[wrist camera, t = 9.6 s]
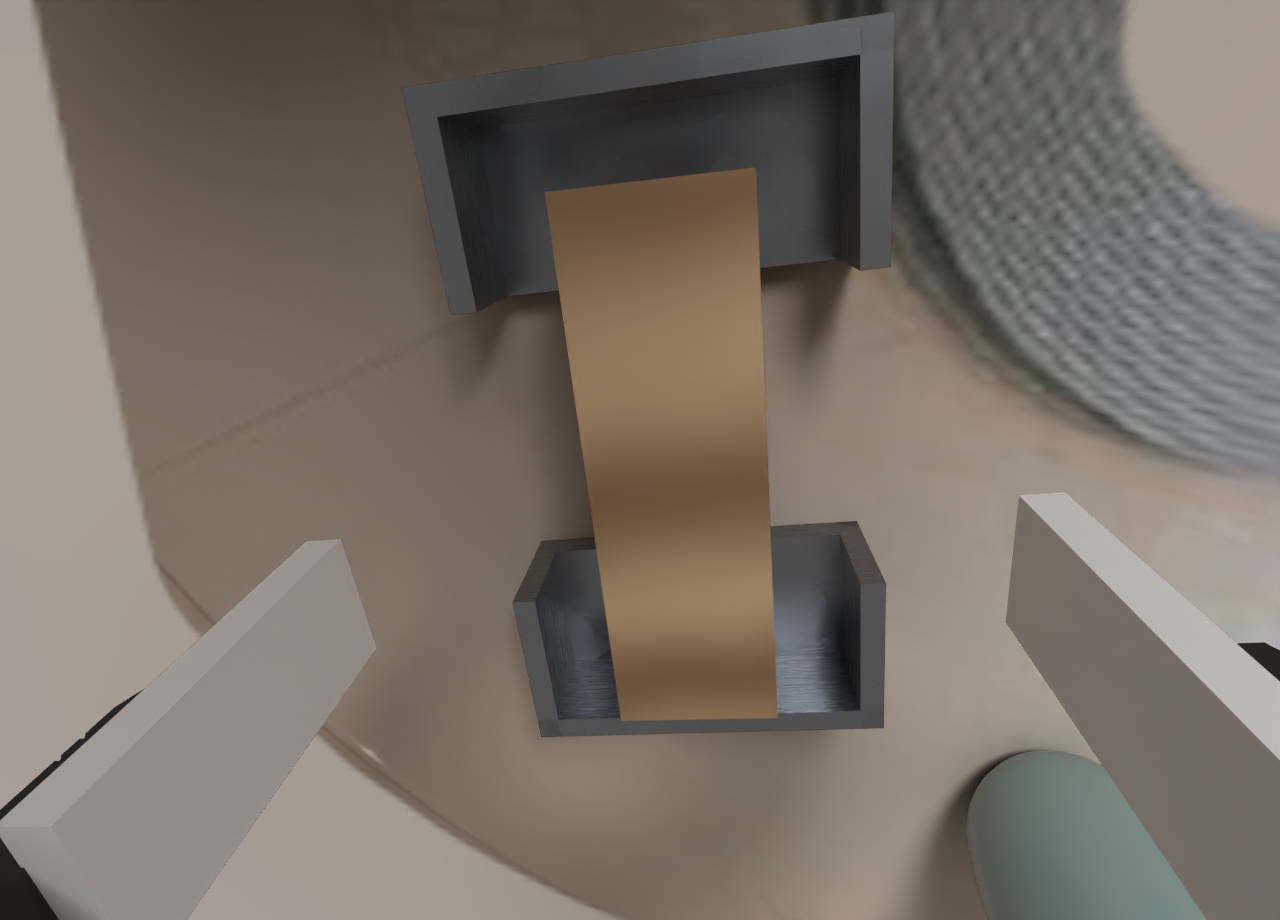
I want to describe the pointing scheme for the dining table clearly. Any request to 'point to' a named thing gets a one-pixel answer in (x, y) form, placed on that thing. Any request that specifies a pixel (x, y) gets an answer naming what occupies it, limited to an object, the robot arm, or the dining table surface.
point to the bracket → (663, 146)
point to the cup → (1066, 846)
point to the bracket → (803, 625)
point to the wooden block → (674, 435)
